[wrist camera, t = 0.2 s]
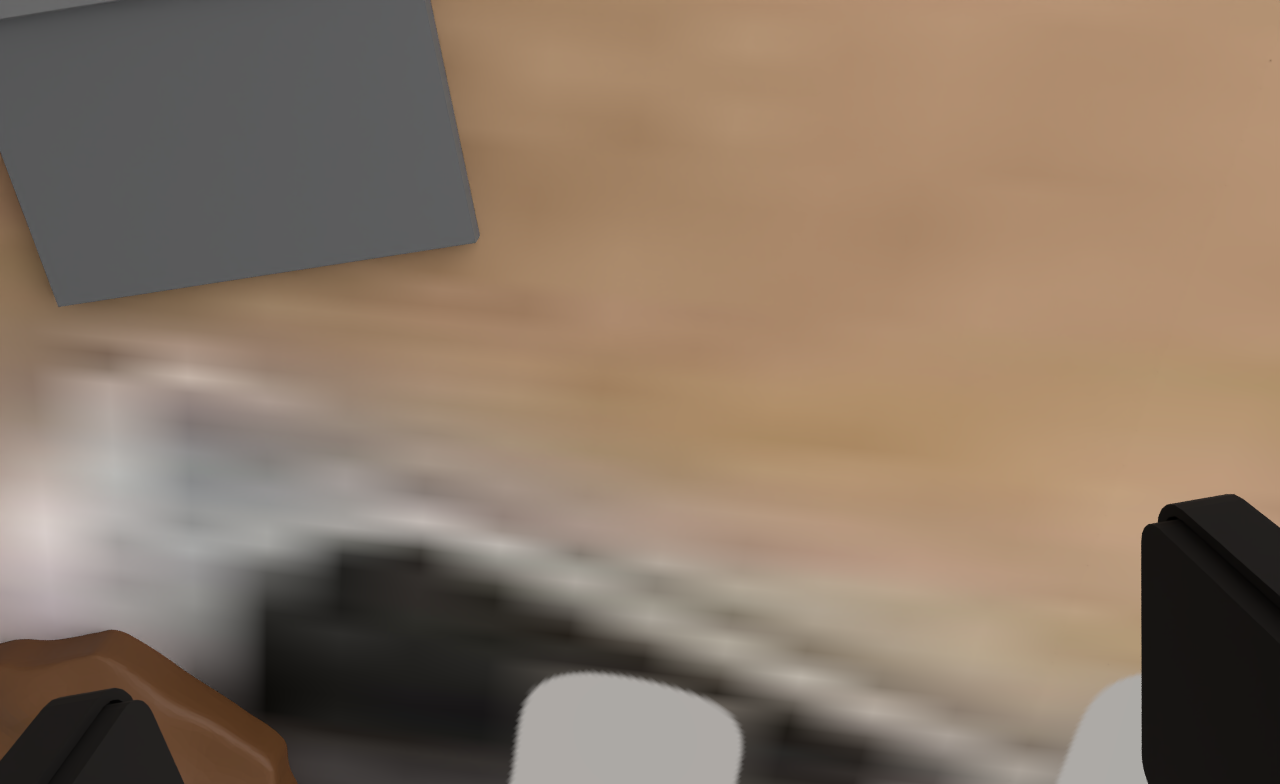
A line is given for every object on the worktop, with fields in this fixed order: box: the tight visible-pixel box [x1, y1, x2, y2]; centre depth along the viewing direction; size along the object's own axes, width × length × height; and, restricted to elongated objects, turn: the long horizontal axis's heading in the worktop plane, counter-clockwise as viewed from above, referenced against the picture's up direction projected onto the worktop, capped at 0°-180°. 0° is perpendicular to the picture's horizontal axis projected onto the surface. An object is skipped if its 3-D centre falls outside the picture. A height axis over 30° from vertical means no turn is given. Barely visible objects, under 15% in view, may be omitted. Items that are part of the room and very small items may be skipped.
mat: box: [0, 0, 480, 307], centre depth 36 cm, size 11×16×2 cm
